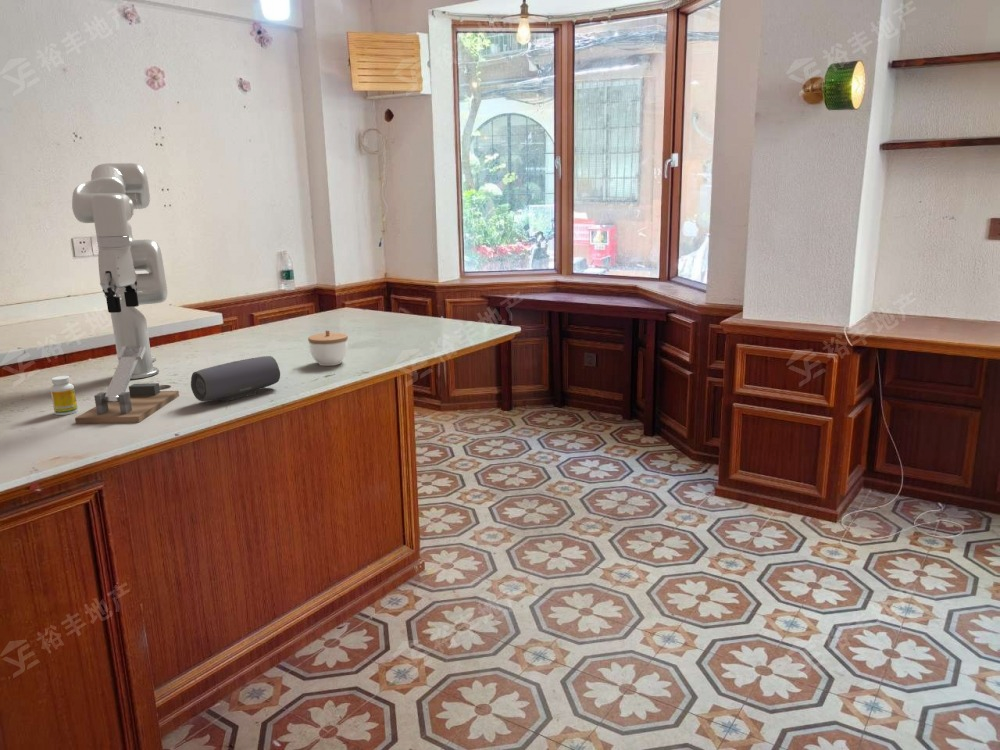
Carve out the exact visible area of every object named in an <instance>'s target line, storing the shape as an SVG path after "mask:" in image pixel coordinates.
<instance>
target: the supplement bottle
mask: <svg viewBox="0 0 1000 750" xmlns="http://www.w3.org/2000/svg"><path fill="white" fill-rule="evenodd" d="M70 382H71V379H70V376H69V375H59V376H54V377H52V378H51V384H52V386H51V387H50V395H51V402H52V405H53V406H52V407H53V412H54V414H55V415H57V416H69V415H72V414H76V413H77V412H78V409H79V408H78V403H77V397H76V391H75V385H73V384H72V383H70Z"/></svg>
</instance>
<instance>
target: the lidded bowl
mask: <svg viewBox="0 0 1000 750" xmlns="http://www.w3.org/2000/svg"><path fill="white" fill-rule="evenodd" d="M348 338H349V336H348V335H347V334H346V333H341V332H330V330H328V329H327V330H325V332H323V333H317V334H316V333H315V334H313V335H310V336H308V338H307V340H308V344H309V345H308V346H309V347H308V348H309V351H310V352H309V353H310V354H311V356H312V357H311V358H313V360H314V361H315V362H317V363H318V366H325V367H331V366H337V365H340V364H342V361H344V359H345V358H346V357H347V353H348V344H349V343H348Z"/></svg>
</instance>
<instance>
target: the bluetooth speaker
mask: <svg viewBox="0 0 1000 750" xmlns="http://www.w3.org/2000/svg"><path fill="white" fill-rule="evenodd" d="M280 379H281V371H280V367H279V365H278V362H277V360H276V359H275V358H274V357H273V356H272V355H266V356H264V355H263V356H258V357H250V358H246V359H241V360H240V359H239V360H234V361H230V362H226V363H222V364H218V365H213V366H210V367H207V368H203V369H200V370H196V371H194V372H192V375H191V379H190V387H191V391H192V394H193V396H194V397H195V399H197V400H198V401H200V402H211V401H215V400H220V401H222V400H223V402H227V400H228V401H231V400H236V398H237V399H241V398H244V397H248V396H251V394H252V395H254V393H255V394H257V391H258V390H261V389H264V388H267V387H270V386H272V385H275V384H277V383H278V382H279V381H280ZM247 395H248V396H247ZM240 397H241V398H240Z"/></svg>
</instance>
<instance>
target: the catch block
mask: <svg viewBox="0 0 1000 750" xmlns="http://www.w3.org/2000/svg"><path fill="white" fill-rule="evenodd" d="M160 391H161V388H160V383H159V382H158V383H154V382H153V383H147V382H146V383H132V384H131V385H128V392H130V396H154V395H157V394H159V393H160Z"/></svg>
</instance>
